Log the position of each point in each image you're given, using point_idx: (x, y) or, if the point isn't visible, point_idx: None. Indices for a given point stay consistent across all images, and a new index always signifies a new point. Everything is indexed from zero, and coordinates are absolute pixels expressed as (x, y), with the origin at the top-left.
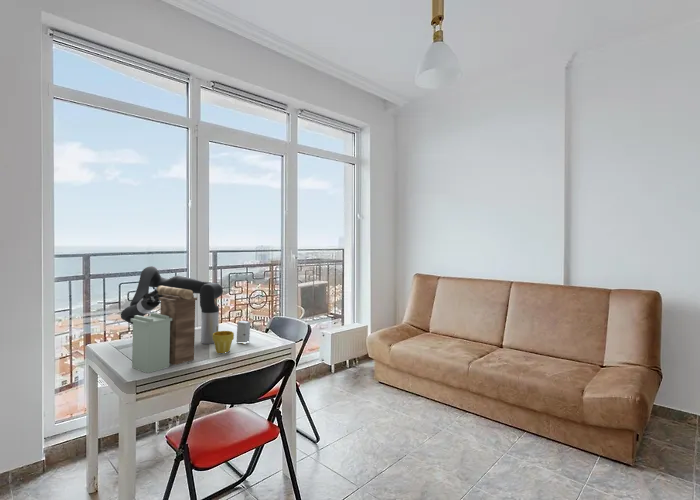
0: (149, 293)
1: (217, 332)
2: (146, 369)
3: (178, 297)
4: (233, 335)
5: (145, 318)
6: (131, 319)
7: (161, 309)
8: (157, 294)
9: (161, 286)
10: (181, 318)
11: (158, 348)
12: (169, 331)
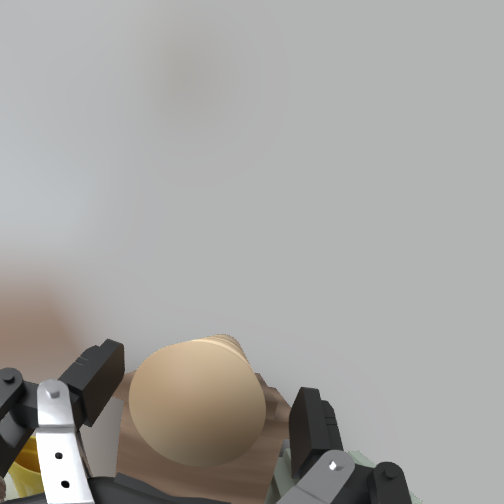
0: (351, 467)
1: (15, 463)
2: None
3: (259, 374)
4: (35, 441)
5: (371, 462)
6: (417, 500)
7: (265, 488)
8: (183, 501)
9: (234, 351)
10: None
11: None
12: (266, 496)
